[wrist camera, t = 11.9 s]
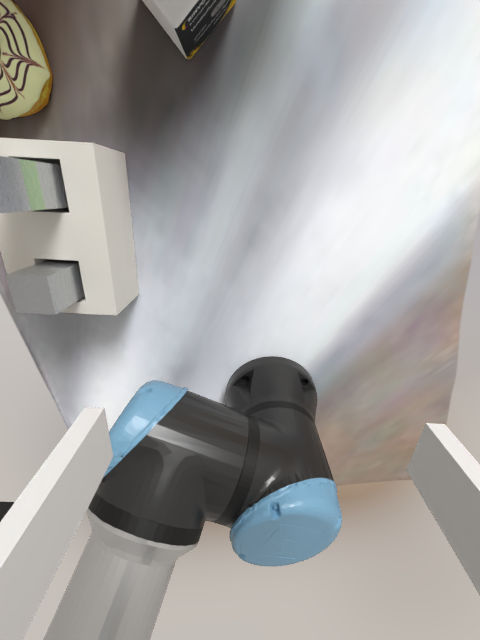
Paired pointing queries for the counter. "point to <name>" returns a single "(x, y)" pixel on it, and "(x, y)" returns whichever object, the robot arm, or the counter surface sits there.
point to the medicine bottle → (189, 20)
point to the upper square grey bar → (30, 186)
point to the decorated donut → (21, 65)
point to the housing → (78, 223)
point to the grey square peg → (46, 287)
